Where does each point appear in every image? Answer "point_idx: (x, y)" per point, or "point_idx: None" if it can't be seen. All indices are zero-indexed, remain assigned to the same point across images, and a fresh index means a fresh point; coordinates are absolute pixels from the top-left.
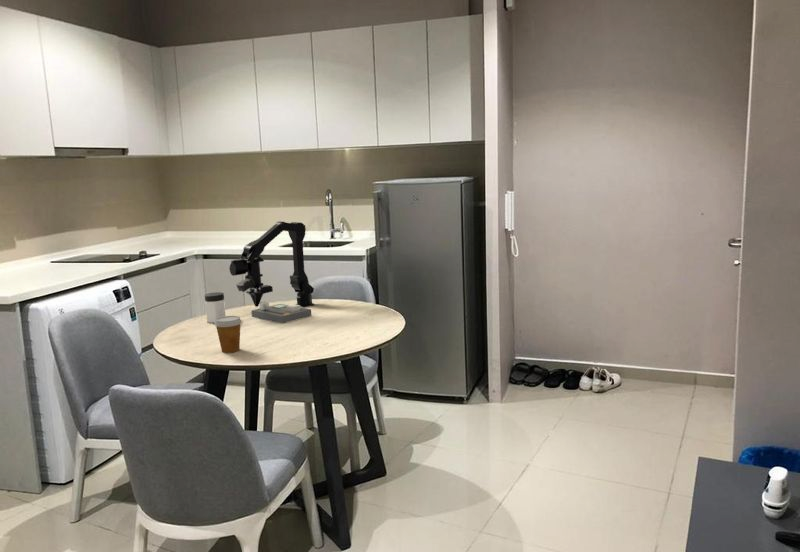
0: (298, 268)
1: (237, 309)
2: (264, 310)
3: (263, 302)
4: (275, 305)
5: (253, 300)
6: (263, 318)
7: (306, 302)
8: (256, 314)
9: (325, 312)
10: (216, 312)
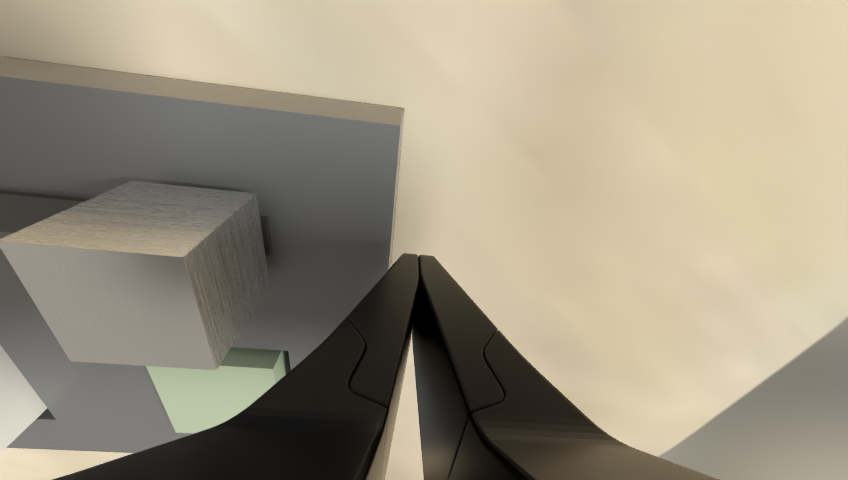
0: None
1: (817, 295)
2: None
3: (136, 313)
4: None
5: (451, 315)
6: (112, 72)
7: None
8: (273, 100)
9: (22, 460)
10: None
